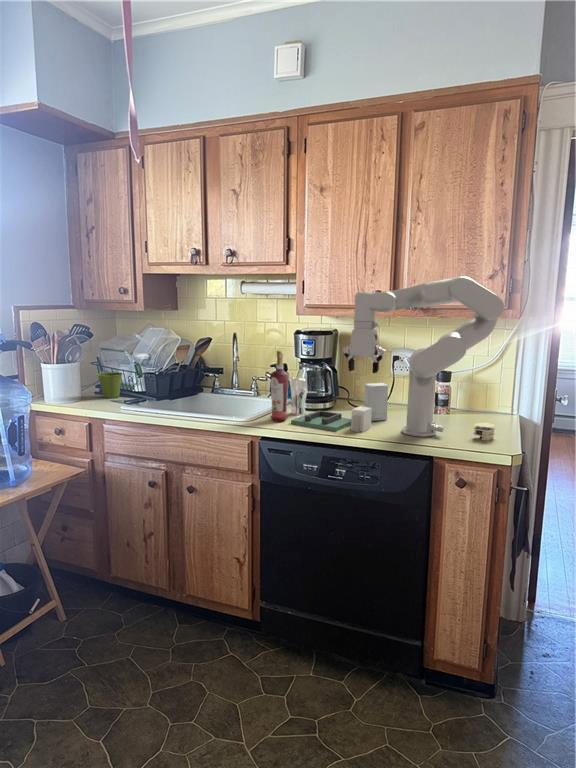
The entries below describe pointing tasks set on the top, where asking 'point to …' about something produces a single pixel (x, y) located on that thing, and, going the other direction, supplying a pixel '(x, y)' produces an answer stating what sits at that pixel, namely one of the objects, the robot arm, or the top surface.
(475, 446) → the top surface
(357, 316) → the robot arm
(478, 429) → the stacked layers on plate
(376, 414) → the skincare box
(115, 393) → the plant pot
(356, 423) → the keyed plug
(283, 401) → the liquor
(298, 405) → the beer glass
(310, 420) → the socket board
